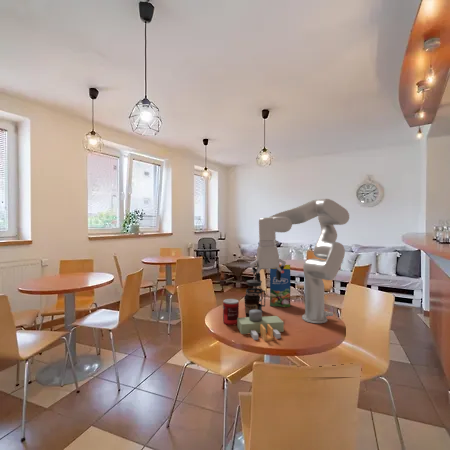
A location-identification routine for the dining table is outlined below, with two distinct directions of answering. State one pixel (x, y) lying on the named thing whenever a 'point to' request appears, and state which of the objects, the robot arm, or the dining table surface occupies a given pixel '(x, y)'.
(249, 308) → the coffee cup
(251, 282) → the french press
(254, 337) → the green plate with pegs
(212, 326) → the dining table surface
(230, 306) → the canned food
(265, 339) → the chute
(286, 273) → the blue food package
